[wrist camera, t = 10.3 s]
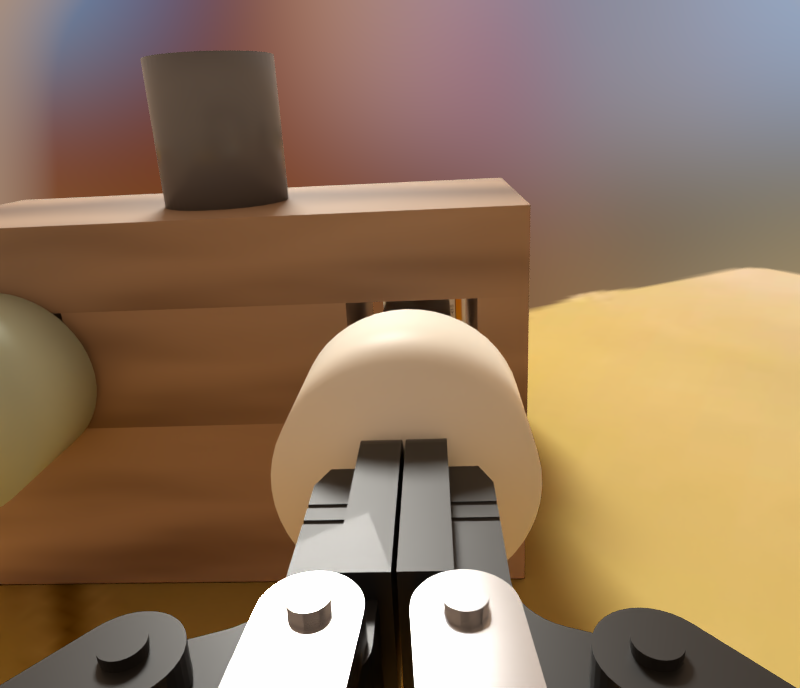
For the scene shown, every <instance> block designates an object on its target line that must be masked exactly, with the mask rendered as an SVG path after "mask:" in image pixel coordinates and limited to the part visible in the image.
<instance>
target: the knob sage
mask: <svg viewBox="0 0 800 688" xmlns="http://www.w3.org/2000/svg"><path fill="white" fill-rule="evenodd" d="M96 399H97V385H96V378H95V373H94V370H93V366H92V364H91V361H90V359H89V357H88V354H87V352H86V351H85V349H84V347H83V346H82V344H81V342H80V341H79V340H78V338H77V337H76V336H75V334H74V333H73V332H72V331H71V330H70V329H69V328H68V327H67V326H66V325H65V324H64V323H63V320H62V316H61V313H56V314H52V313H50V312H49V311H48V310H46V309H45V308H43V307H41V306H39V305H37V304H35V303H33V302H31V301H28V300H26V299H23V298H20V297H17V296H13V295H9V294H2V293H0V507H1V506H3V505H4V504H6V503H7V502H9V501H10V500H11V499H12V498H13V497H15V496H16V495H17V494H18V493H19V492H20V491H21V490H22V489H23V488H24V487H25V486H27V485H28V484H29V483H30V482H31V481H32V480H33V479H34V478H35V477H36V476H37V475H38V474H40V473H41V472H42V471H43V470H44V469H45V468H46V467H47V466H48V465H49V464H50V463H51V462H53V461H54V460H55V459H56V458H57V457H58V456H59V455H60V454H61V453H62V452H63V451H64V450H66V449H67V448H68V447H69V446H70V445H71V444H72V443H73V442H74V441H75V440H76V439H77V438H78V437H79V436H80V435H81V434H82V433H83V432H84V431H85V429H86V428H87V426H88V425H89V423H90V421H91V419H92V416H93V413H94V410H95V406H96Z"/></svg>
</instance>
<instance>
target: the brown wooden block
mask: <svg viewBox="0 0 800 688" xmlns="http://www.w3.org/2000/svg"><path fill="white" fill-rule="evenodd" d="M288 197H289V198H288V199H287V200H285V201H282V202H278V203H273V204H268V205H261V206H254V207H246V208H236V209H224V210H207V211H178V210H170V209H166V208H165V202H164V196H163V194H143V195H122V196H101V197H82V198H81V197H80V198H60V199H59V198H58V199H37V200H22V201H18V202H13V203H8V204H3V205H0V293H2V294H9V295H13V296H17V297H20V298H23V299H26V300H28V301H31V302H33V303H35V304H37V305H39V306H41V307H43V308H45V309H46V310H48V311H49V312H50V313H52V314H56V313H61V316H62V320H63V323H64V324H65V325H66V326H67V327H68V328H69V329H70V330H71V331H72V332H73V333H74V334H75V336H76V337H77V338H78V340H79V341H80V342H81V344H82V346H83V347H84V349H85V351H86V352H87V354H88V357H89V359H90V361H91V364H92V366H93V370H94V373H95V378H96V385H97V399H96V406H95V410H94V413H93V416H92V419H91V421H90V423H89V425H88V426H87V428H86V429H85V431H84V432H83V433H82V434H81V435H80V436H79V437H78V438H77V439H76V440H75V441H74V442H73V443H72V444H71V445H70V446H69V447H68V448H67V449H66V450H64V451H63V452H62V453H61V454H60V455H59V456H58V457H57V458H56V459H55V460H54V461H53V462H51V463H50V464H49V465H48V466H47V467H46V468H45V469H44V470H43V471H42V472H41V473H40V474H38V475H37V476H36V477H35V478H34V479H33V480H32V481H31V482H30V483H29V484H28V485H27V486H25V487H24V488H23V489H22V490H21V491H20V492H19V493H18V494H17V495H16V496H15V497H13V498H12V499H11V500H10V501H9V502H7V503H6V504H4V505H3V506H1V507H0V584H67V583H156V582H244V581H282V580H284V579H286V576H287V573H288V569H289V566H290V563H291V560H292V556H293V553H294V550H295V547H296V545H295V544H294V542H293V541H292V539H291V538H290V537H289V535H288V534H287V532H286V530H285V528H284V526H283V524H282V523H281V521H280V518H279V516H278V513H277V510H276V507H275V504H274V499H273V494H272V489H271V466H272V458H273V454H274V449H275V445H276V442H277V440H278V438H279V435H280V433H281V430H282V428H283V426H284V424H285V422H286V420H287V417H288V415H289V413H290V411H291V409H292V407H293V405H294V403H295V400H296V398H297V396H298V394H299V392H300V390H301V388H302V386H303V383H304V381H305V379H306V377H307V375H308V373H309V371H310V369H311V366H312V365H313V363H314V361H315V360H316V358H317V356H318V355H319V353H320V352H321V351H322V350H323V348H324V347H325V346H326V345H327V343H328V342H330V341H331V340H332V339H333V338H334V337H335V336H336V335H337V334H338V333H340V332H341V331H343V330H344V329H345V328H347V327H348V326H350V325H352V324H354V323H355V322H357V321H359V320H361V319H364V318H366V317H369V316H372V315H374V314H373V302H388V301H416V300H443V299H465V316H466V324H468V325H469V326H471V327H473V328H474V329H476V330H477V331H478V332H480V333H481V334H482V335H484V336H485V337H486V338H487V339H488V340H489V341H490V342H491V343H492V344H493V345H494V346H495V347H496V348H497V349H498V350H499V352H500V353H501V355H502V356H503V357H504V359H505V360H506V362H507V364H508V366H509V367H510V369H511V371H512V373H513V376H514V379H515V382H516V384H517V387H518V391H519V394H520V397H521V400H522V403H523V406H524V410H525V413H526V416H527V383H528V320H529V257H530V204H529V203H528V202H527V201H526V200H525V199H524V198H522V197H521V196H520V195H519V194H518V193H517V192H516V191H515V190H514V189H513V188H512V187H511V186H509V185H508V184H507V183H506V182H505V181H504V180H503V179H502V178H486V179H466V180H445V181H444V180H443V181H424V182H423V181H421V182H400V183H380V184H357V185H336V186H315V187H294V188H288ZM507 562H508V567H509V573H510V578H524V572H525V540H524V542H523V543H522V544H521V546H520V547H519V548H518V549H517V551H516V552H515V553H514V554H513V555H512V556H511V557H510V558H509V559H508V560H507Z"/></svg>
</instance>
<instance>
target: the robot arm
mask: <svg viewBox="0 0 800 688" xmlns="http://www.w3.org/2000/svg"><path fill="white" fill-rule="evenodd" d="M402 670H403V686H404V688H796V687H794V686H793V685H791V684H789V683H788V682H786V681H784V680H783V679H781V678H780V677H778V676H776V675H775V674H773V673H771V672H770V671H768V670H767V669H765V668H763V667H762V666H760V665H758V664H757V663H755V662H754V661H752V660H750V659H749V658H747V657H746V656H744V655H742V654H741V653H739V652H737V651H736V650H734V649H733V648H731V647H729V646H728V645H726V644H724V643H723V642H721V641H720V640H718V639H716V638H715V637H713V636H712V635H710V634H708V633H707V632H705V631H703V630H702V629H700V628H699V627H697V626H695V625H694V624H692V623H690V622H688V621H687V620H685V619H683V618H681V617H678V616H676V615H674V614H671V613H668V612H664V611H661V610H655V609H650V608H628V609H623V610H619V611H616V612H613V613H611V614H609V615H607V616H606V617H604V618H603V619H602V620H601V621H600V622H599V623H598V624H597V626H596V627H595V629H594V632H593V633H590V632H586V631H582V630H578V629H574V628H570V627H566V626H562V625H559V624H556V623H553V622H551V621H548V620H546V619H544V618H542V617H540V616H539V615H537V614H535V613H534V612H533V611H531V610H530V609H528V608H527V607H526V606H525V605H524V604H523V603H522V602H521V600H520V598H519V595H518V594H517V593H516V591H515V590H514V589H513V587H512V583H511V579H510V573H509V567H508V562H507V556H506V550H505V545H504V539H503V533H502V528H501V522H500V516H499V510H498V505H497V499H496V493H495V488H494V482H493V481H492V480H491V479H490V478H489V477H488V476H487V474H486V473H485V472H484V471H483V470H482V469H481V468H480V467H479V466H448V452H447V438H442V439H406V442H405V457H404V451H403V441H402V440H366V441H361V442H360V447H359V452H358V456H357V461H356V466H355V469H331V470H330V471H329V472H328V473H327V474H326V475H325V476H324V477H323V478H322V479H321V480H320V481H319V482H317V483H316V484H315V485H314V488H313V491H312V494H311V498H310V501H309V504H308V508H307V511H306V514H305V517H304V524H302V527H301V530H300V534H299V537H298V540H297V543H296V547H295V550H294V553H293V556H292V560H291V563H290V566H289V569H288V573H287V576H286V579H284V580H282V581H280V582H278V583H276V584H275V585H273V586H272V587H271V588H269V589H268V590H267V591H266V592H265V593H264V594H263V595H262V597H261V598H260V599H259V601H258V602H257V604H256V606H255V608H254V611H253V613H252V615H251V617H250V619H249V621H247V622H246V623H243V624H241V625H238V626H236V627H233V628H230V629H227V630H223V631H219V632H215V633H211V634H207V635H204V636H200V637H196V638H192V639H188V640H187V636H186V631H185V628H184V626H183V625H182V623H181V622H180V621H179V620H178V619H176V618H175V617H173V616H172V615H169V614H166V613H162V612H157V611H143V612H135V613H130V614H126V615H123V616H120V617H116V618H114V619H112V620H109V621H107V622H105V623H103V624H101V625H100V626H98V627H96V628H94V629H93V630H91V631H89V632H88V633H86V634H84V635H83V636H81V637H79V638H78V639H76V640H74V641H73V642H71V643H69V644H68V645H66V646H64V647H63V648H61V649H59V650H58V651H56V652H55V653H53V654H51V655H50V656H48V657H46V658H45V659H43V660H41V661H40V662H38V663H36V664H35V665H33V666H31V667H30V668H28V669H26V670H25V671H23V672H21V673H20V674H18V675H16V676H15V677H13V678H11V679H10V680H8V681H6V682H5V683H3V684H1V685H0V688H401V676H402Z"/></svg>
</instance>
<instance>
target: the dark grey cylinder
mask: <svg viewBox="0 0 800 688" xmlns="http://www.w3.org/2000/svg"><path fill="white" fill-rule="evenodd" d="M141 64H142V70H143V76H144V82H145V88H146V94H147V100H148V106H149V112H150V118H151V124H152V130H153V136H154V142H155V148H156V154H157V160H158V166H159V172H160V178H161V184H162V190H163V196H164V202H165V208H166V209H170V210H178V211H207V210H224V209H236V208H246V207H254V206H261V205H268V204H273V203H278V202H282V201H285V200H287V199H288V198H289V197H288V188H287V178H286V169H285V159H284V150H283V140H282V131H281V122H280V111H279V102H278V93H277V83H276V73H275V64H274V55H273V54H271V53H266V52H257V51H194V52H177V53H168V54H167V53H166V54H157V55H151V56H146V57H143V58H141Z"/></svg>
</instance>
